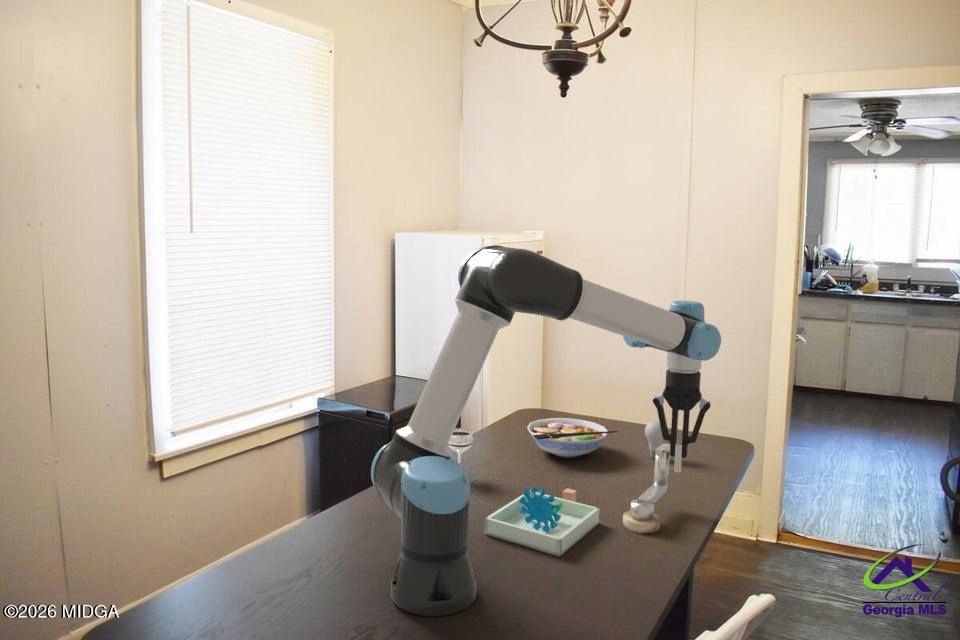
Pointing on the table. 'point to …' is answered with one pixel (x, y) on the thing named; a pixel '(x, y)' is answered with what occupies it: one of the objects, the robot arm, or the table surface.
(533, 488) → the gear
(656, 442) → the lightbulb
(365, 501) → the table surface
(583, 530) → the tray
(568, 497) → the post
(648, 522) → the crank pedestal
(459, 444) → the wineglass
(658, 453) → the crank
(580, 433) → the ramen bowl
